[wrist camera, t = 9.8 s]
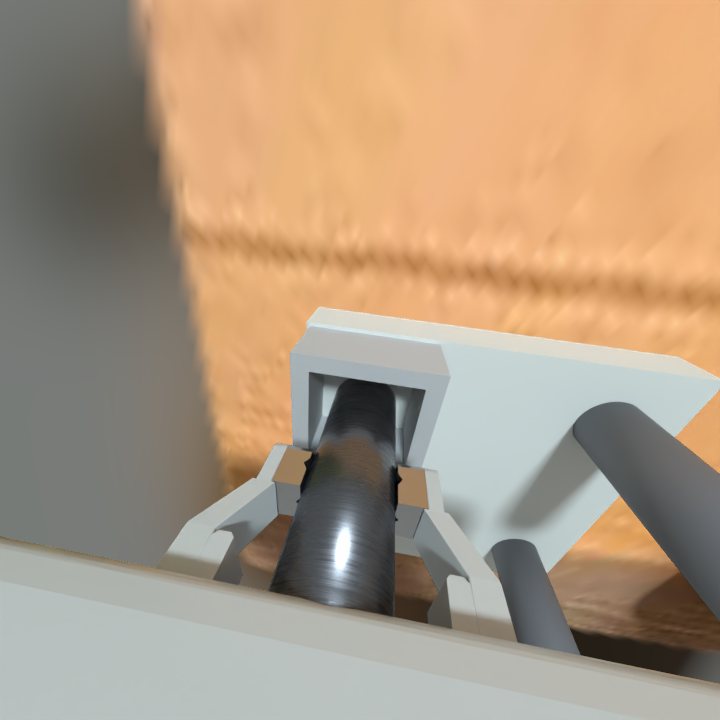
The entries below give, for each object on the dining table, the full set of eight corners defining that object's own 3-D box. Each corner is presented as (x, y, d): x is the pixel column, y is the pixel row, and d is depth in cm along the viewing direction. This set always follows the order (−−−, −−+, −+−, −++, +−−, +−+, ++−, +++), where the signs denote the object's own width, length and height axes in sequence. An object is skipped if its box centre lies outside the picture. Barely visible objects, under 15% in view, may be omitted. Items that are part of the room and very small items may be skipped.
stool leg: (408, 401, 14) (424, 655, 6) (369, 433, 15) (338, 672, 7) (360, 363, 13) (303, 595, 5) (323, 402, 14) (234, 629, 6)
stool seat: (677, 356, 15) (1291, 670, 5) (527, 547, 24) (618, 780, 14) (319, 306, 16) (181, 469, 6) (313, 508, 26) (259, 698, 16)
